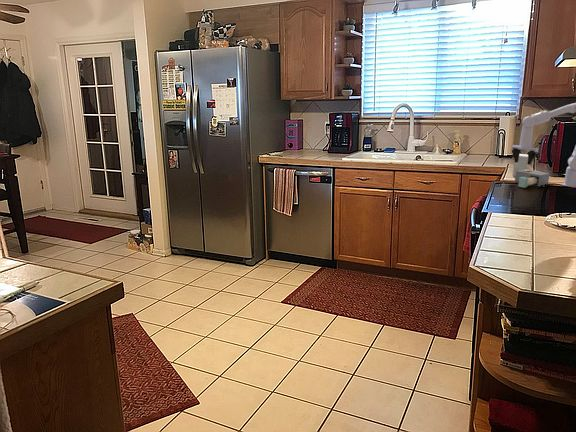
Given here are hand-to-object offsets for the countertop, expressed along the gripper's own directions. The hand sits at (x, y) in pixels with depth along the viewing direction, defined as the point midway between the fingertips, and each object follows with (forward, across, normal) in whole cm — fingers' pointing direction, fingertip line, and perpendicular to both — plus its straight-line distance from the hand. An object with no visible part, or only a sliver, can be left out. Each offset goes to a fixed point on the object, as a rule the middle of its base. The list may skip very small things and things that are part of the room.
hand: (522, 163), depth 264 cm
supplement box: (+11, -8, +13) cm, 19 cm away
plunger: (+8, +2, +2) cm, 8 cm away
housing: (+10, +5, +2) cm, 12 cm away
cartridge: (+10, +9, -7) cm, 15 cm away
